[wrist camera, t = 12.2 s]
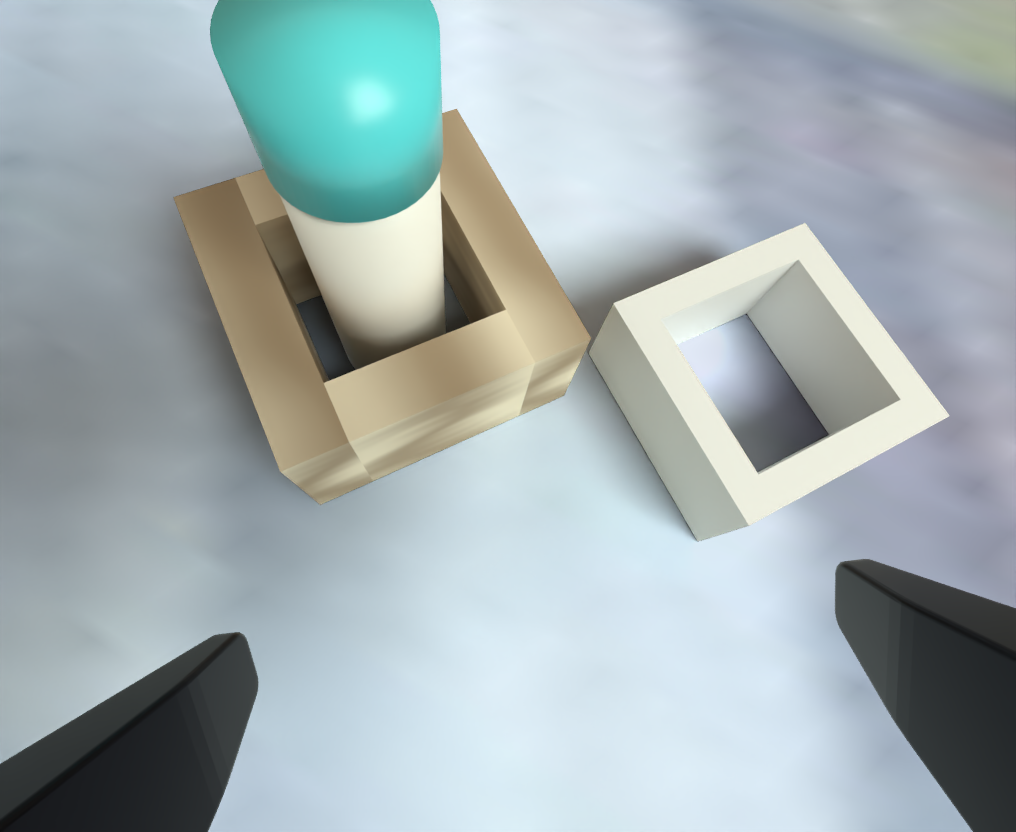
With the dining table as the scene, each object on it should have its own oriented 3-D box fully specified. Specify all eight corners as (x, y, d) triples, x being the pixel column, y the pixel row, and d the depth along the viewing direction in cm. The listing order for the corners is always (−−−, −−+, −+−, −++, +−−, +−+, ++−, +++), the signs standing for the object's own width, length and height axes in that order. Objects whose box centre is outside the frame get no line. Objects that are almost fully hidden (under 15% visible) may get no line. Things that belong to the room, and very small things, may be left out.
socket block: (320, 504, 21) (280, 472, 16) (230, 282, 23) (173, 197, 19) (563, 395, 23) (591, 338, 18) (456, 202, 26) (456, 108, 21)
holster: (697, 541, 21) (749, 525, 18) (588, 353, 24) (613, 303, 20) (869, 448, 23) (949, 416, 20) (753, 281, 25) (805, 223, 22)
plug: (447, 388, 23) (437, 120, 10) (338, 387, 22) (193, 107, 10) (449, 294, 24) (441, -42, 12) (346, 291, 24) (226, -58, 11)
